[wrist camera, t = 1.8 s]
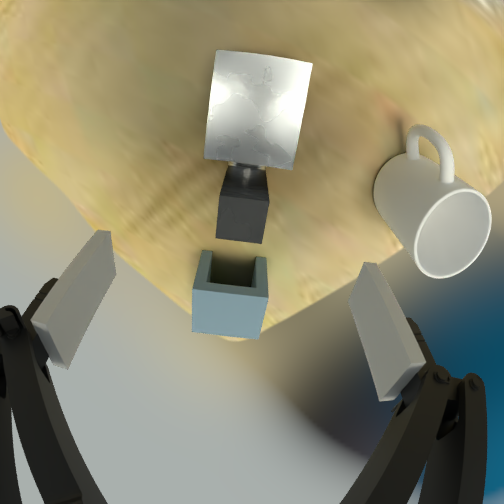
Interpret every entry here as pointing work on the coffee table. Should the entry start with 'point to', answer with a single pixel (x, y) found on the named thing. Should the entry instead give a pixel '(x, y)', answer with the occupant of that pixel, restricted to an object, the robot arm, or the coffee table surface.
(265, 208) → the grey piece
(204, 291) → the socket
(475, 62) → the coffee table surface
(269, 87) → the grey metal block
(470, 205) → the cup
